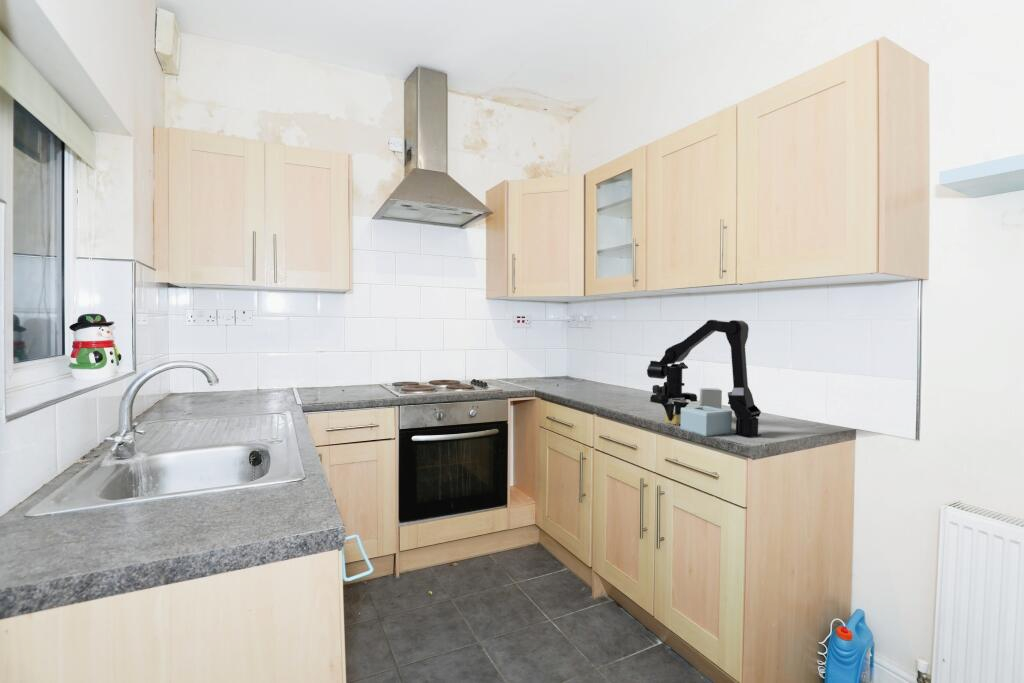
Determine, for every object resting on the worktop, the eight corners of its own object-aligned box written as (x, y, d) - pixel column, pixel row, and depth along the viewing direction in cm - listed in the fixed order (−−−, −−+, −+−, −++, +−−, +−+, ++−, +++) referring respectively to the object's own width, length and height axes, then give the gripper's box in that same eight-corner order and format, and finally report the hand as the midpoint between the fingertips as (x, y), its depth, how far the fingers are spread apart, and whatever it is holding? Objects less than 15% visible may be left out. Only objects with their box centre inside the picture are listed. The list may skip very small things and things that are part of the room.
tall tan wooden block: (670, 422, 199) (671, 411, 199) (682, 424, 193) (682, 414, 193) (664, 422, 198) (665, 412, 197) (675, 425, 192) (676, 414, 192)
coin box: (731, 433, 178) (731, 410, 178) (706, 436, 173) (706, 413, 173) (705, 427, 189) (705, 405, 189) (680, 429, 184) (680, 407, 184)
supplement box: (721, 422, 199) (722, 390, 199) (701, 421, 201) (702, 389, 200) (717, 419, 206) (718, 388, 206) (698, 418, 208) (699, 387, 208)
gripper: (677, 377, 206) (676, 415, 207) (641, 378, 198) (640, 418, 199) (698, 379, 196) (697, 420, 197) (660, 381, 188) (660, 423, 189)
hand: (673, 420), depth 195 cm, fingers closed on tall tan wooden block, 3 cm apart
